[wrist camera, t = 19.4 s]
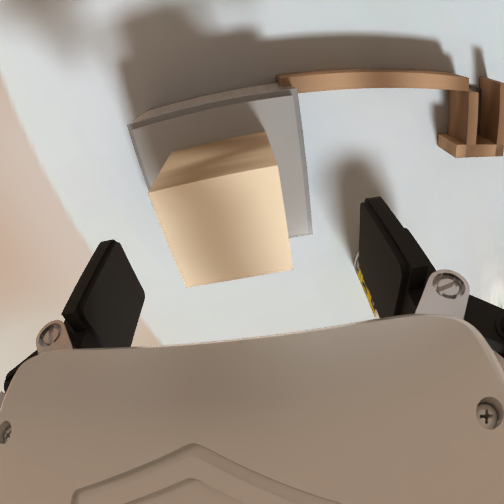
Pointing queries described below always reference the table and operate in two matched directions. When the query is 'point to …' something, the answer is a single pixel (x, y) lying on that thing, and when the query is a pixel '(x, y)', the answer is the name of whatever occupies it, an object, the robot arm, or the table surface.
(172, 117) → the stand
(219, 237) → the block
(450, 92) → the channel
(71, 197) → the table surface
